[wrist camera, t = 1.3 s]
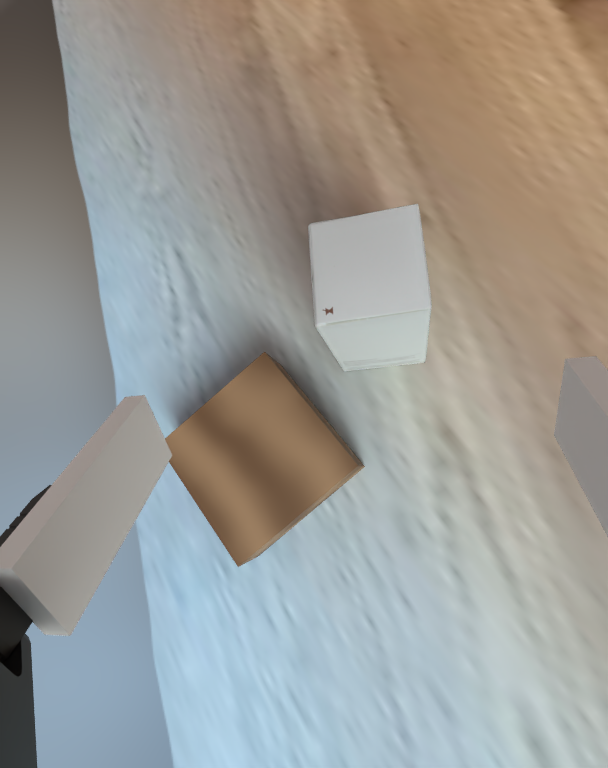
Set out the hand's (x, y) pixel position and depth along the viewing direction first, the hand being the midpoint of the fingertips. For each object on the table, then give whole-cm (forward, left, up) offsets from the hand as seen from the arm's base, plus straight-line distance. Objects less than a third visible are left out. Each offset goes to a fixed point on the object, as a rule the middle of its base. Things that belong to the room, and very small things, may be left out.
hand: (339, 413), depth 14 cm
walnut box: (+8, -6, -24) cm, 26 cm away
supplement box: (-7, -8, -24) cm, 26 cm away
